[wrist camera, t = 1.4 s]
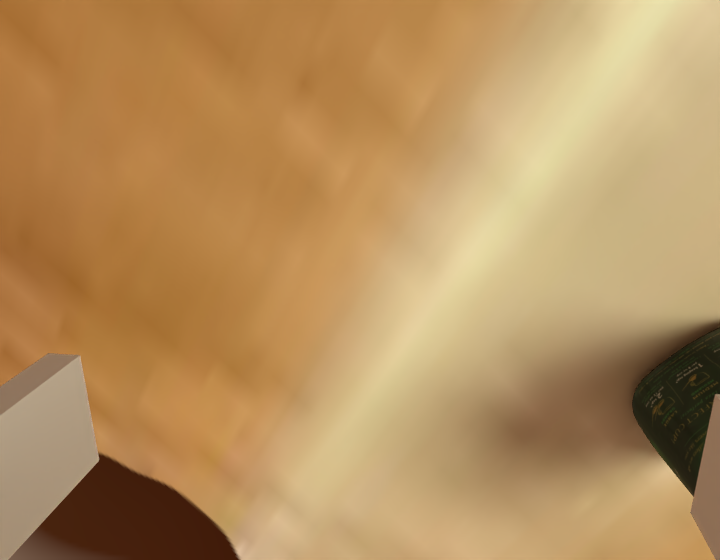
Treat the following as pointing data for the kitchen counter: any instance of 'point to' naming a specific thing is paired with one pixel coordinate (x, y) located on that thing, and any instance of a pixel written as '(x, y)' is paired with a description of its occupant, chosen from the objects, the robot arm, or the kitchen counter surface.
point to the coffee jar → (681, 405)
